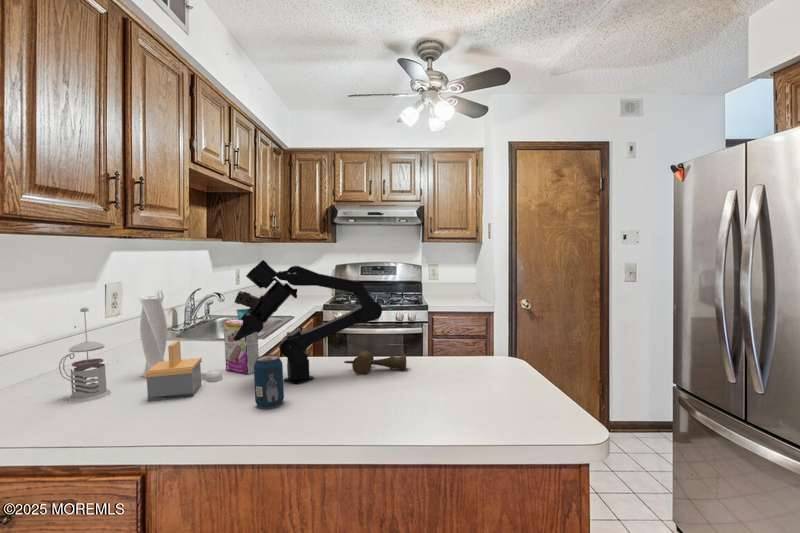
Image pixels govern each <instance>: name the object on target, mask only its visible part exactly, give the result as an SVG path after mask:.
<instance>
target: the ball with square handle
mask: <svg viewBox="0 0 800 533" xmlns="http://www.w3.org/2000/svg"><path fill="white" fill-rule="evenodd" d="M202 380H203V381H206V382H207V383H215V381H216V382H219V380H220V381H221V380H223V370H222V369H212V370H209V371H201V381H202Z"/></svg>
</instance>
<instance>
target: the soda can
mask: <svg viewBox="0 0 800 533" xmlns="http://www.w3.org/2000/svg"><path fill="white" fill-rule="evenodd" d="M283 367H284V366H283V361H282V360H281V358H280V355H278V354H265V355H261V356H259V357H258V358H256V362H255V364H254V373H253V381H254V383H253V384H254V402H255V404H256V405H257V407H258V408H259V409H265V410H266V409H268V410H269V409H274V408H277V407H279V406H281V404H282V403H283V401H284V399H285V394H284V393H285V392H284V387H285V386H284V371H283V370H284V368H283Z"/></svg>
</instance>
